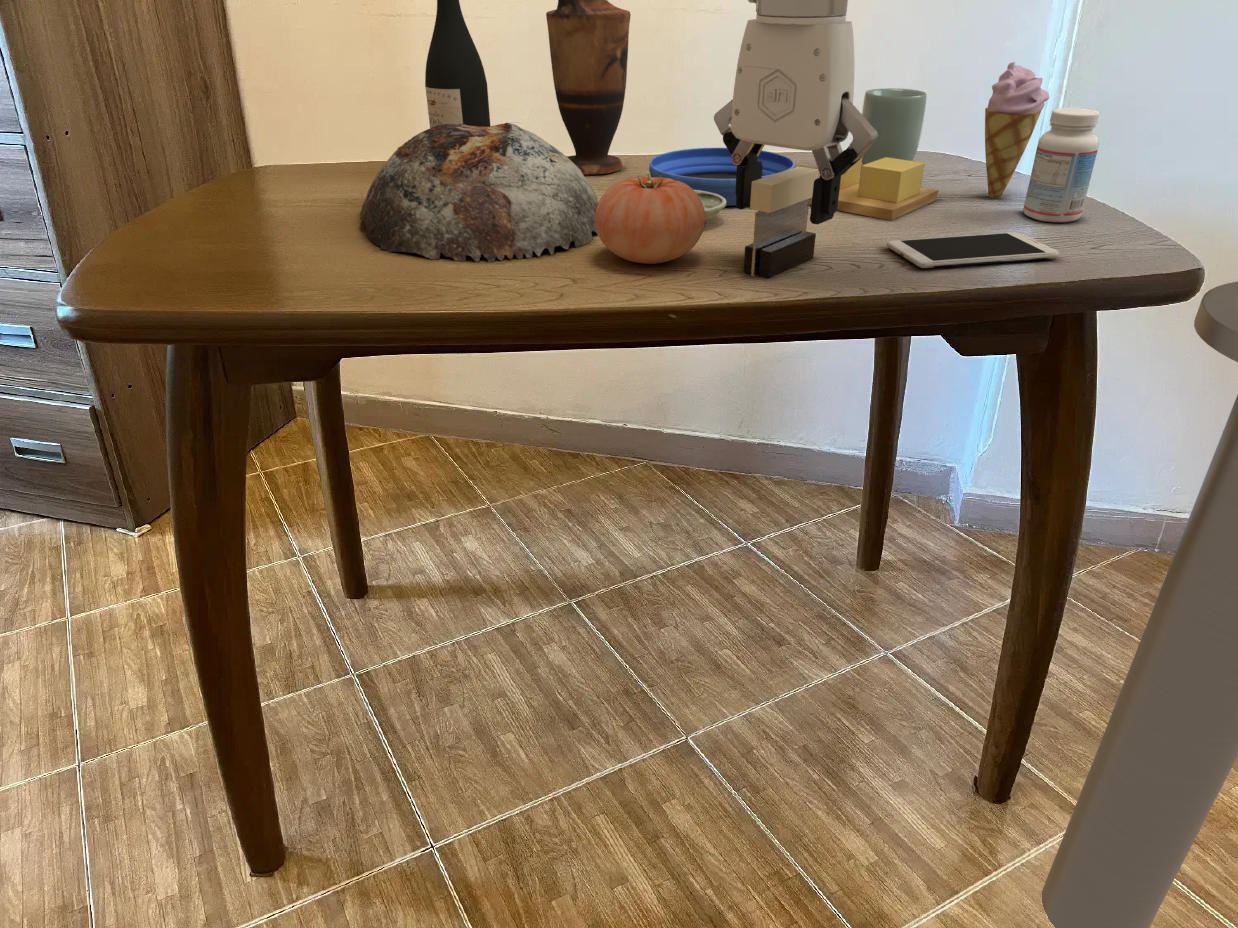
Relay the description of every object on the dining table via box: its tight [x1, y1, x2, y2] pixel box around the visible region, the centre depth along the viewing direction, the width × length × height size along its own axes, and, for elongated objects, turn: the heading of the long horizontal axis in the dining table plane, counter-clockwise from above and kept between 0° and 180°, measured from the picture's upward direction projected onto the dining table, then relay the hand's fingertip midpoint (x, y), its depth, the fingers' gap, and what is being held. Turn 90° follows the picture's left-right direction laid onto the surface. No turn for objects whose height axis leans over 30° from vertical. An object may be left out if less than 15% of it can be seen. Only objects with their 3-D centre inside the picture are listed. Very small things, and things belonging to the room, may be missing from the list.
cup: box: [861, 88, 928, 165], centre depth 117 cm, size 8×8×10 cm
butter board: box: [809, 178, 939, 221], centre depth 105 cm, size 11×12×1 cm
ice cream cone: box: [984, 61, 1050, 199], centre depth 103 cm, size 7×6×15 cm
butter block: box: [858, 157, 926, 203], centre depth 103 cm, size 5×6×4 cm
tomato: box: [595, 172, 706, 265], centre depth 85 cm, size 11×11×8 cm
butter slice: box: [840, 158, 862, 190], centre depth 106 cm, size 2×6×4 cm, turn 138°
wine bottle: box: [424, 0, 491, 129], centre depth 112 cm, size 8×8×30 cm
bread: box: [359, 122, 599, 263], centre depth 98 cm, size 27×32×10 cm
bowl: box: [648, 147, 796, 207], centre depth 110 cm, size 18×18×4 cm
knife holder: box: [743, 230, 817, 279], centre depth 84 cm, size 3×8×2 cm, turn 138°
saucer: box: [694, 190, 727, 221], centre depth 98 cm, size 10×10×2 cm
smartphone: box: [886, 231, 1060, 269], centre depth 87 cm, size 8×1×15 cm
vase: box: [545, 0, 631, 176], centre depth 114 cm, size 11×11×30 cm
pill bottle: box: [1023, 107, 1100, 223], centre depth 96 cm, size 6×6×11 cm
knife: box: [749, 166, 819, 278], centre depth 83 cm, size 2×9×8 cm, turn 138°
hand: (783, 212), depth 82 cm, fingers open, 7 cm apart
